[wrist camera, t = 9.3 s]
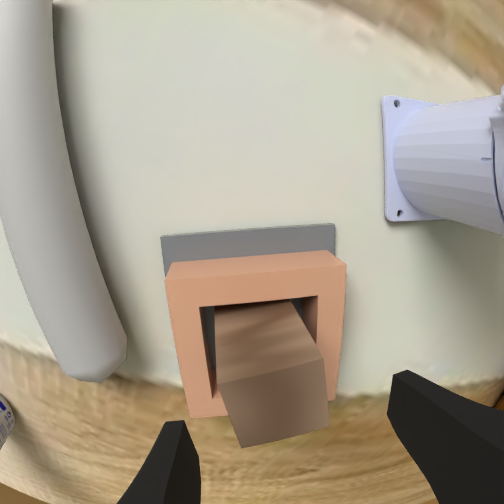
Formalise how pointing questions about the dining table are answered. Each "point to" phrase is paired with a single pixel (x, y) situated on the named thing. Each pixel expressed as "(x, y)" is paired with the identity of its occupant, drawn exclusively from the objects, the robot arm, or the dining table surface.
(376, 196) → the dining table surface
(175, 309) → the socket
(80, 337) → the tube
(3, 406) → the beverage can
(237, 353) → the peg
